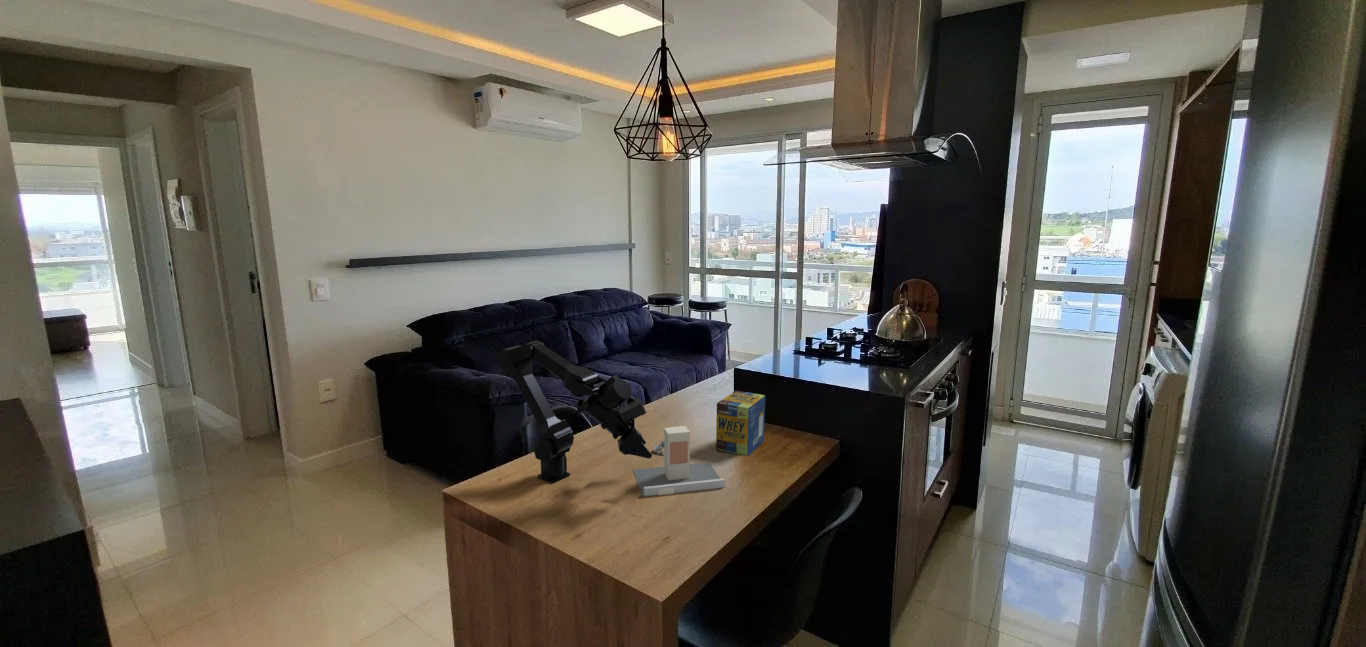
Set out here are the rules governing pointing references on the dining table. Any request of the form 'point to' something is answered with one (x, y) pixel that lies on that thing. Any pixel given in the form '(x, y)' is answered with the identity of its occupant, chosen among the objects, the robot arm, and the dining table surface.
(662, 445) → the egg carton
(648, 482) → the shelf board
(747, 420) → the protein box
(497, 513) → the dining table surface
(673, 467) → the tea box
